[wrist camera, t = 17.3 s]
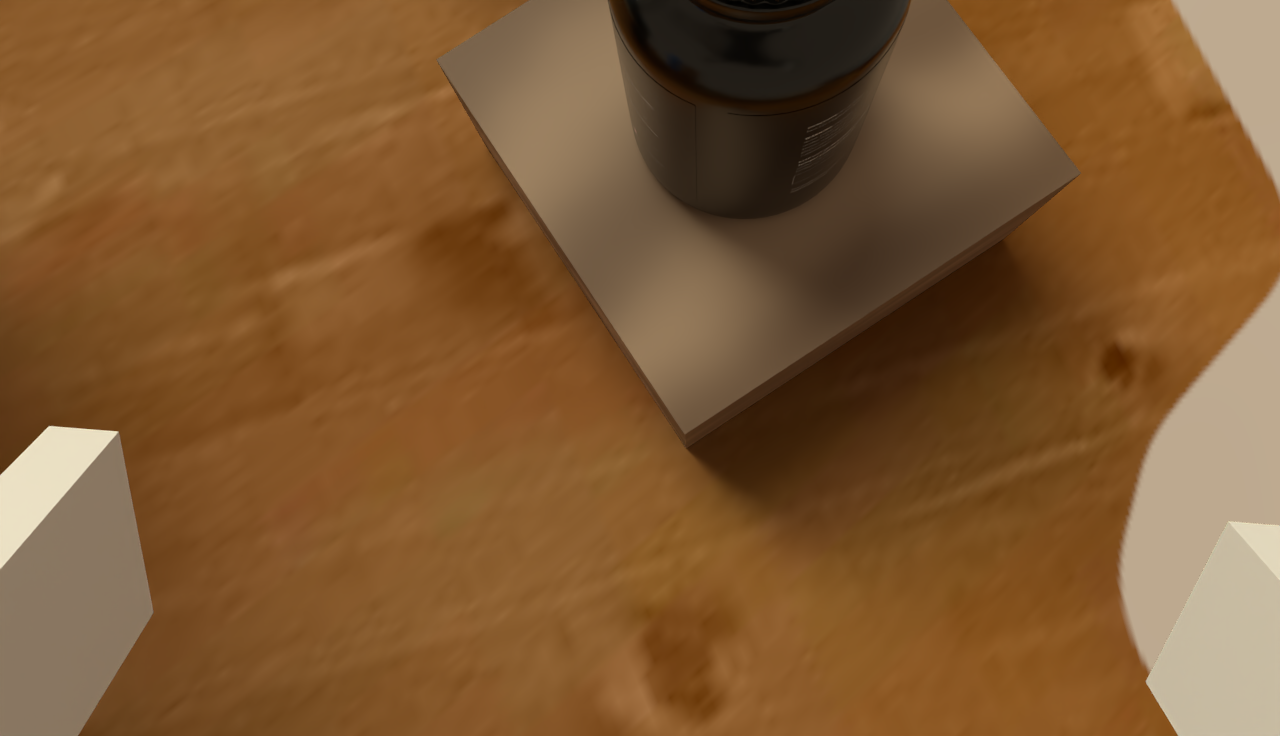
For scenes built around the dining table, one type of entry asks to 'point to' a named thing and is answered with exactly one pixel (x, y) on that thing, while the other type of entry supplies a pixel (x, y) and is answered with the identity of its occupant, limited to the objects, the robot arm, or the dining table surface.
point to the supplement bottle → (751, 93)
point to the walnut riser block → (764, 247)
